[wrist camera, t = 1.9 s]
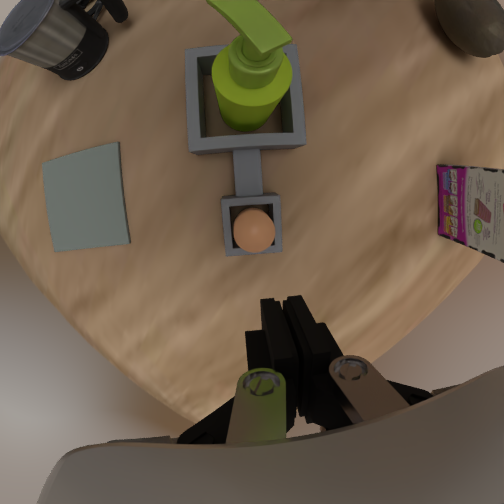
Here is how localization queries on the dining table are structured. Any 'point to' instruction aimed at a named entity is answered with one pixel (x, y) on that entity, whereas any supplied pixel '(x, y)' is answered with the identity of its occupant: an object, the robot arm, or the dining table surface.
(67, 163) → the mat
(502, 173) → the candy bar box
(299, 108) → the holder
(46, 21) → the milk frother
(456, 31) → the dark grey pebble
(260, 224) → the tan ball
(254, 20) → the soap dispenser
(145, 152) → the dining table surface
